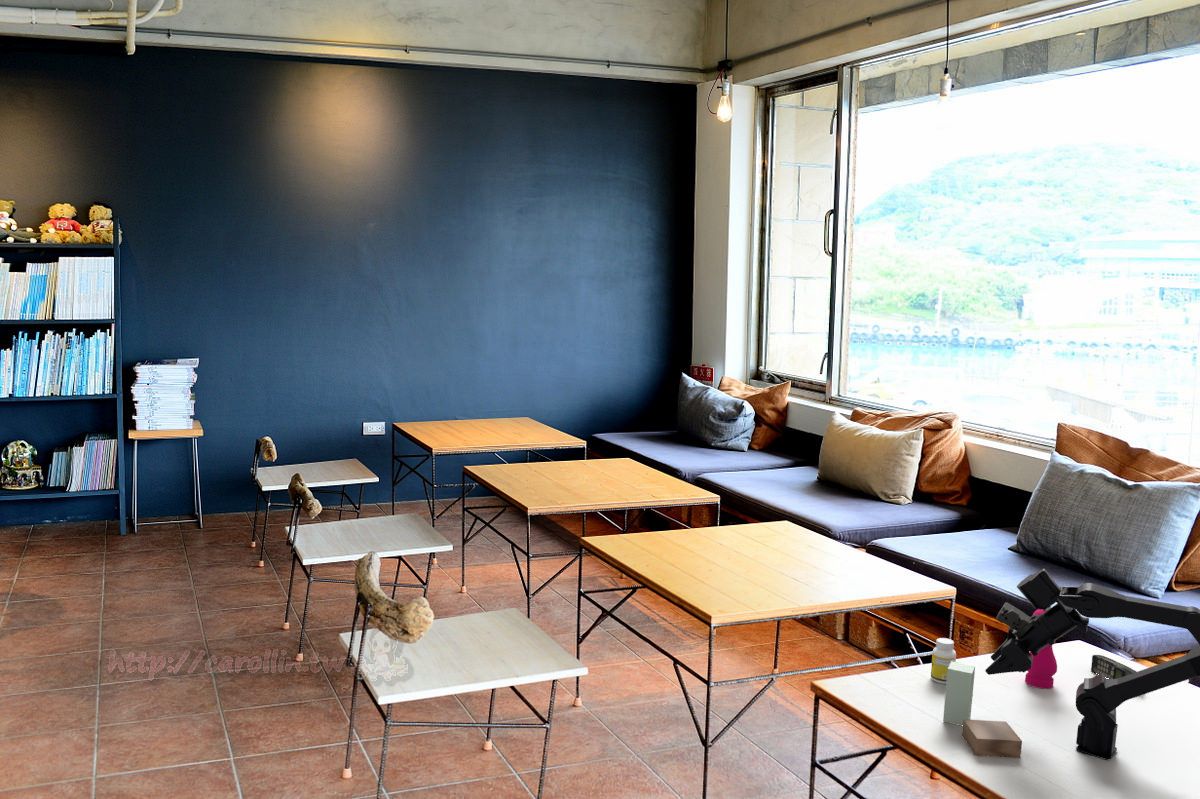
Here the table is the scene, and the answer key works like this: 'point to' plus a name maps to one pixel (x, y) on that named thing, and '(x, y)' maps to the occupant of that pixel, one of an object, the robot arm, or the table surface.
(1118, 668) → the mobile phone
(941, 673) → the supplement bottle
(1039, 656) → the pepper mill
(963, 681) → the tall block
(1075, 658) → the table surface
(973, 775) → the table surface
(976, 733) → the walnut block
